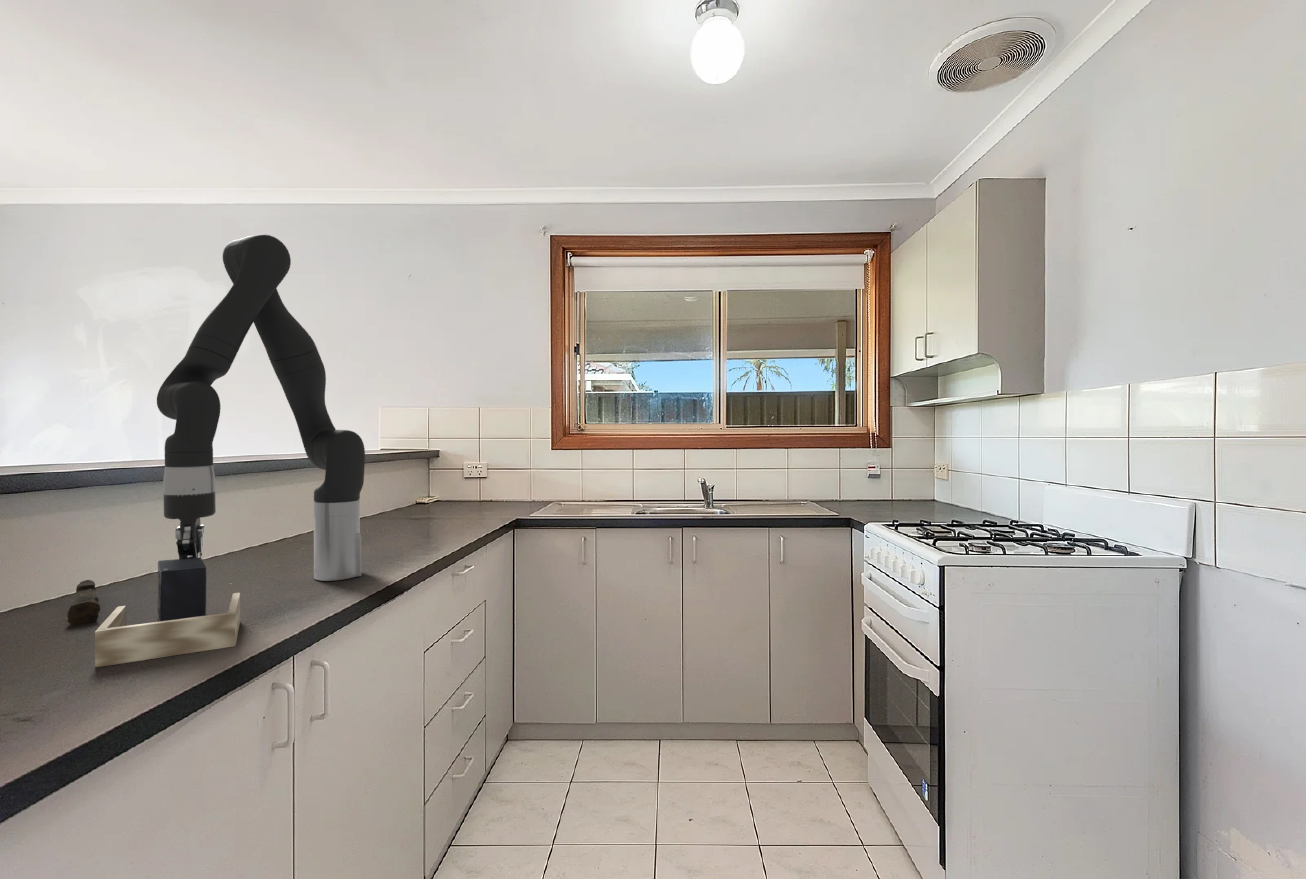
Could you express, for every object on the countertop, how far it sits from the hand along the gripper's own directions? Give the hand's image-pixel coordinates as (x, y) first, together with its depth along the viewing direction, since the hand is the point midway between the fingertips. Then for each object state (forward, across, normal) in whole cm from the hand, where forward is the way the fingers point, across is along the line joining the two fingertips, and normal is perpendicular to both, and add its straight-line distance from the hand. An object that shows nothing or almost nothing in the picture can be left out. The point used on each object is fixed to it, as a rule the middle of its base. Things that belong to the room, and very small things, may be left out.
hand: (191, 584), depth 110 cm
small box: (+5, -10, 0) cm, 11 cm away
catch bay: (+4, -19, 0) cm, 20 cm away
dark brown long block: (+5, +8, +17) cm, 19 cm away
